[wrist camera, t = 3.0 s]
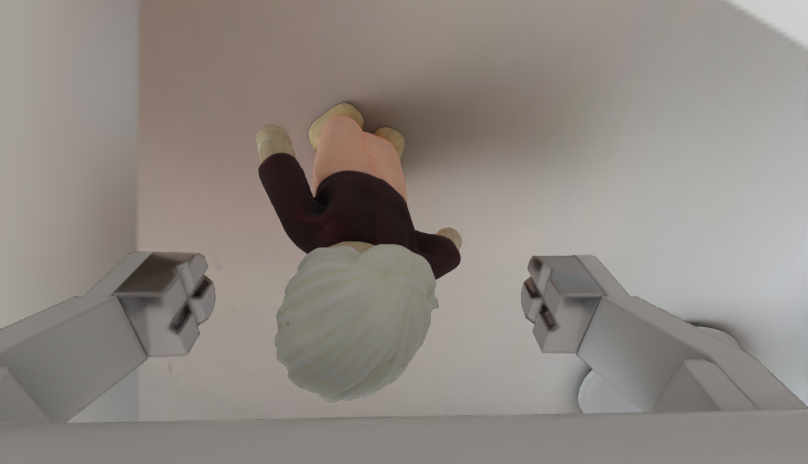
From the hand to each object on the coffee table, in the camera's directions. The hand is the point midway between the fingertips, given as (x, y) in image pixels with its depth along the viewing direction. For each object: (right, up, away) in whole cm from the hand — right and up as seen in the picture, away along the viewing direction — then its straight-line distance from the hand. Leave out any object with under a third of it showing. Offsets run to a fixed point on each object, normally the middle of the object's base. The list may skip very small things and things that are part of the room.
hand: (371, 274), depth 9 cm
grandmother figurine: (-1, +5, +8) cm, 10 cm away
